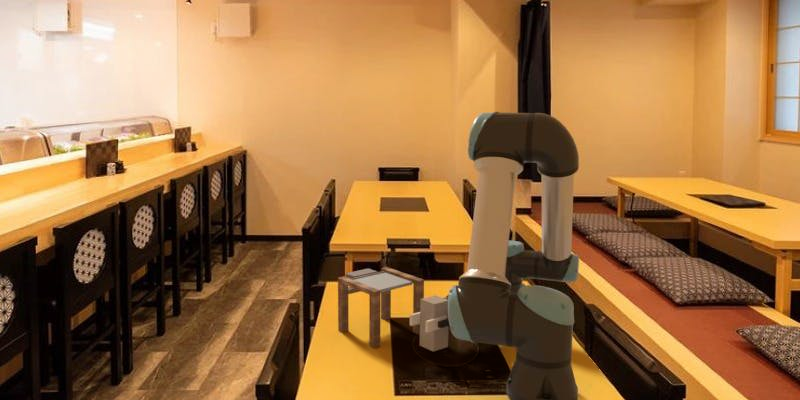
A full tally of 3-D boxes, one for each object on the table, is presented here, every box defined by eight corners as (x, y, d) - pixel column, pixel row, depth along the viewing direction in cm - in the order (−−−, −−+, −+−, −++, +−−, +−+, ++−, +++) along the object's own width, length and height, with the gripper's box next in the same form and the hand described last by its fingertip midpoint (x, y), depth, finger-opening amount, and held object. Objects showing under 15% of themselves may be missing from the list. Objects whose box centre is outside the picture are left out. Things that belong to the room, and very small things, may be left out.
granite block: (448, 346, 156) (449, 300, 154) (433, 351, 153) (434, 304, 151) (434, 340, 160) (435, 295, 158) (419, 345, 157) (420, 299, 155)
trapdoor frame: (423, 332, 172) (424, 279, 169) (374, 348, 161) (374, 292, 158) (386, 316, 184) (386, 267, 181) (338, 330, 173) (337, 277, 170)
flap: (412, 286, 169) (412, 280, 169) (377, 294, 162) (377, 288, 161) (373, 272, 182) (373, 267, 182) (339, 280, 174) (339, 274, 174)
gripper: (509, 327, 161) (444, 349, 146) (458, 309, 174) (394, 327, 159) (510, 299, 159) (445, 318, 145) (459, 283, 173) (394, 299, 158)
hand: (418, 323), depth 152 cm, fingers closed on granite block, 5 cm apart
